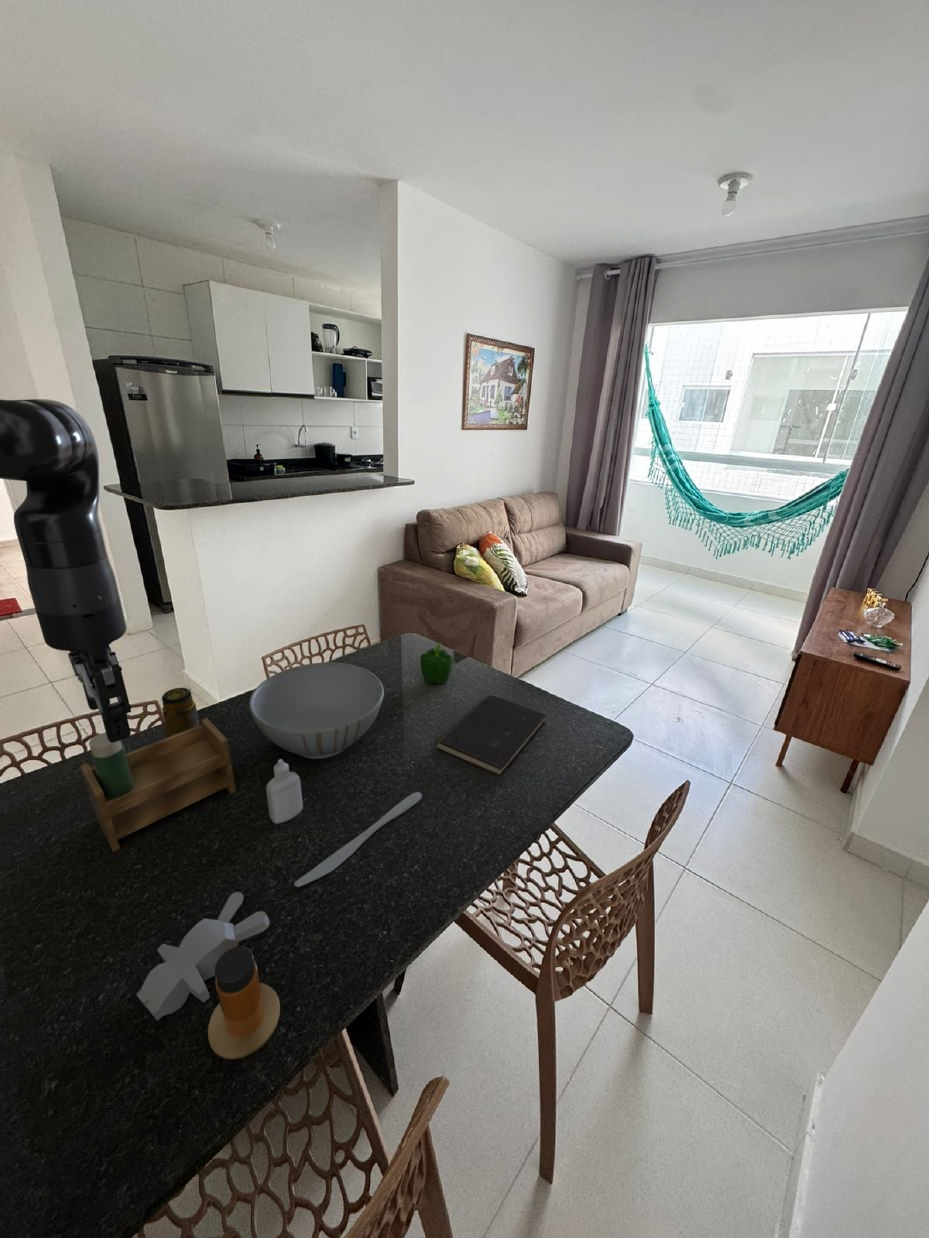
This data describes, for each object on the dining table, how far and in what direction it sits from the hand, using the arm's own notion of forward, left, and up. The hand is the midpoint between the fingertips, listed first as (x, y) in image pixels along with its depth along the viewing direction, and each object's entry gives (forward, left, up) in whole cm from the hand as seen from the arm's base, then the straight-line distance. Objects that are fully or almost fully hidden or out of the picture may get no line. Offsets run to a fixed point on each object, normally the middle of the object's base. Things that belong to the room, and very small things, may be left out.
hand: (109, 722), depth 62 cm
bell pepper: (+74, +19, -32) cm, 83 cm away
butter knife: (+29, -11, -32) cm, 44 cm away
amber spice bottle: (+2, -23, -31) cm, 39 cm away
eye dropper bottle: (+22, +3, -32) cm, 39 cm away
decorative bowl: (+38, +17, -32) cm, 52 cm away
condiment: (+17, +35, -32) cm, 50 cm away
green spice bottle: (+1, +19, -24) cm, 31 cm away
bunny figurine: (+1, -14, -32) cm, 35 cm away
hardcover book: (+67, -7, -32) cm, 74 cm away
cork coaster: (+2, -24, -32) cm, 40 cm away
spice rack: (+8, +19, -32) cm, 38 cm away
